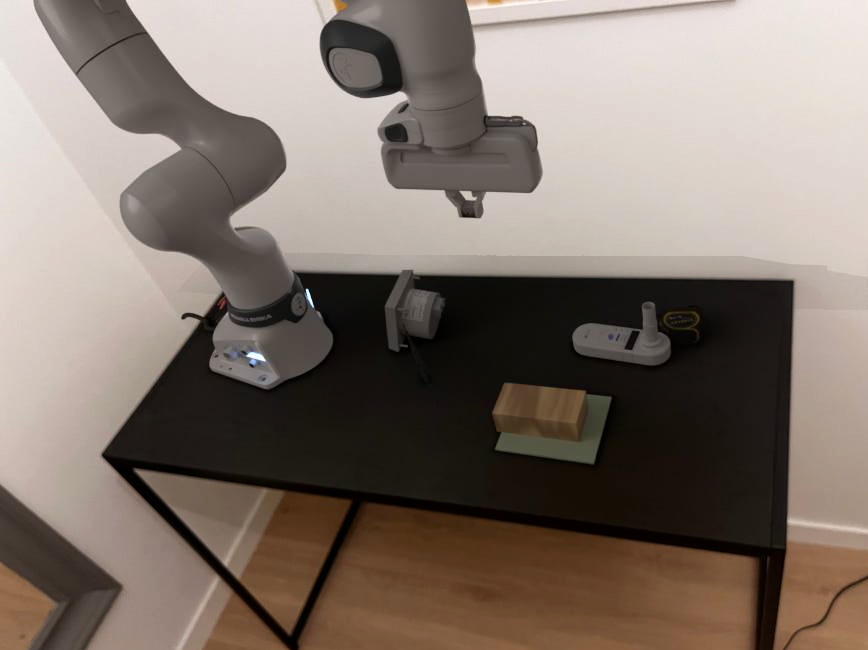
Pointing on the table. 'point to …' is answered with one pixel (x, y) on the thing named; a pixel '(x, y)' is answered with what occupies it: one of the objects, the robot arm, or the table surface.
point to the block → (541, 411)
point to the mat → (562, 448)
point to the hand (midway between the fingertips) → (471, 215)
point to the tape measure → (682, 324)
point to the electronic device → (625, 341)
